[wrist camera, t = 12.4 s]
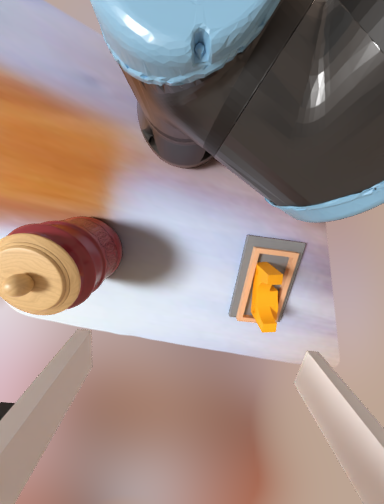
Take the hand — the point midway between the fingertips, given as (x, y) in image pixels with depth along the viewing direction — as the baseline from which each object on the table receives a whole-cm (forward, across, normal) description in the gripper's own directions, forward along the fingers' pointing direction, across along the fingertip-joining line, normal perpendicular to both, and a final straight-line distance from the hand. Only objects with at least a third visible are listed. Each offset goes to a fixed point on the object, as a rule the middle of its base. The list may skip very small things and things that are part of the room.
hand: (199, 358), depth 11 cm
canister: (+27, -20, -3) cm, 34 cm away
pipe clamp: (+26, +17, -7) cm, 32 cm away
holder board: (+27, +17, -6) cm, 32 cm away
